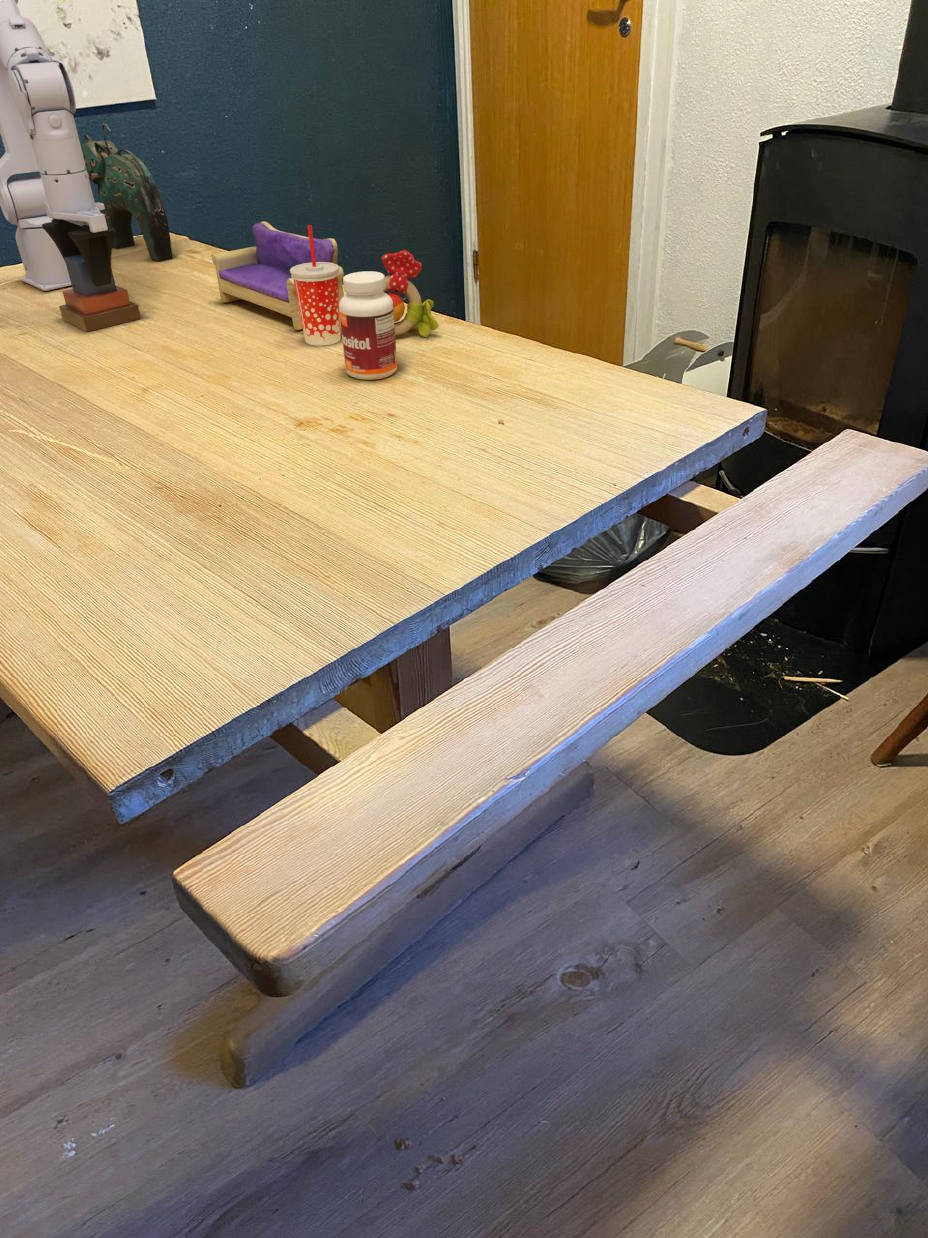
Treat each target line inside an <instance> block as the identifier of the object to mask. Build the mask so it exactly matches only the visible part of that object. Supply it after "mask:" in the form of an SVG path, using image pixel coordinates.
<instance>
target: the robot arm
mask: <svg viewBox="0 0 928 1238" xmlns="http://www.w3.org/2000/svg"><path fill="white" fill-rule="evenodd" d="M18 4H19V0H0V137H1V141H2V145H3V146H4V150H5V152H4V154H3V155H2V156H1V157H0V209H1V211H2V214H3V216H4V218H5V220H6V221H7V222H9V223H10V224H11V225H15V226H17V228H16V231H15V241H16V246H17V249H18V252H19V256H20V259H21V262H22V265H23V269H24V272H25V275H26V276H22V277H20V280H21V281H22V282H24V283H26V284H28V285H31V286H33V287H35V288H37V289H39V290H41V291H43V292H48V291H52V290H55V289H61V288H65V287H71V286H72V284H71V281H70V277H69V273H68V270H67V266H66V262H65V259H64V258H65V257H70V256H75V255H80V254H82V257H83V259H84V261H85V263H86V266H87V269H88V271H89V274H90V277H91V279H92V281H93V283H94V284H95V286H102V285H107V284H111V269H112V252H113V247H112V246H113V242H114V239H115V236H116V231H115V229H114V228H111V227H108V228H107V224H106V220H105V215H104V214H102V213H101V210H104V209H105V207H104V204H103V203H100V202H99V201H98V202H95V198H94V194H93V190H92V186H91V182H90V181H91V180H89V177H88V173H87V169H86V165H85V161H84V157H83V153H82V145H81V142H80V137H79V132H78V128H77V125H76V121H75V117H74V114H75V113H76V112H77V111H76V110H77V103H76V96H75V91H74V87H73V83H72V81H71V77H70V75H69V72H68V70H67V68H66V66H65V64H64V62H63V60H61V59H58V58H57V56H55V55H54V56H52V55H51V53H50V51H49V49H48V48H47V46H46V44H45V41H44V40H43V37H42V36H41V34H40V32H39V30H38V28H37V26H36V25H35V23H33V21H31V20H30V19H29V18H27V17H26V16H23V15H22V14H21V12H20V9H19V7H18ZM37 172H39V174H32V175H27V176H18V177H11V176H15V175H21V174H27V173H28V174H29V173H30V174H31V173H37Z"/></svg>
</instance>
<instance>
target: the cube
mask: <svg viewBox="0 0 928 1238" xmlns="http://www.w3.org/2000/svg"><path fill="white" fill-rule="evenodd" d="M64 259H65V262H66V266H67V270H68V273H69V277H70V281H71V284H72V285H71V289H73V291H75V292H78V293H80V294H82V295H84V296H92V295H96V294H100V293H105V292H109V291H113V290H117V289H116V286H117V285H116V282H115V281H116V280H115V278H114V273H113V269H112V268H111V284H107V285H102V286H95V284H94V283H93V281H92V279H91V277H90V274H89V271H88V269H87V266H86V263H85V261H84V259H83V257H82V254H80V255H75V256H70V257H65V258H64Z"/></svg>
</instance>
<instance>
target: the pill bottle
mask: <svg viewBox="0 0 928 1238" xmlns="http://www.w3.org/2000/svg"><path fill="white" fill-rule="evenodd" d="M385 277H386V276H385V274H384V273H382V272H381V271H380V272H379V271H372V270H371V271H370V270H369V271H368V270H367V271H357V272H352V273H348V274H346V275H344V277H343V278H342V283H343V292H345V293H346V294H344V297H343V298H342V299H341V300H340V303H339V310H340V331H341V339H342V348H343V357H344V366H345V367H344V369H345V372H346V374H347V375H349V377H351V378H354V379H357V380H364V381H365V380H368V381H369V380H370V381H371V380H373V381H374V380H380V379H381V380H382V379H385V378H388V377H390V376H391V375H393V374H395V372H396V371H397V369H398V357H397V342H396V335H395V325H394V323H395V322H394V310H393V301H392V299H391V297H390V296H389V295H388V294H386V293H387V292H383V290H384V289H385V286H386V284H385Z"/></svg>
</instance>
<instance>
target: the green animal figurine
mask: <svg viewBox="0 0 928 1238" xmlns="http://www.w3.org/2000/svg"><path fill="white" fill-rule="evenodd" d="M105 128H106V130H107V131H108V132H109V133H110V134H113V131H112V129H111V128H110V126H109V125H108V123H106V122H102V125H101V131H102V134H103V135H102V136H103V140H99V141H98V140H97V141H96V140H94V139H92V138H91V137H90V136H88V134H86V133H83V137H84V143H83V144H82V145H81V149H82V153H83V157H84V161H85V165H86V169H87V173H88V177H89V181H91V182H92V183H93V184H95V185H97V194H98V202H99V203H103V204H104V207H105V209H104V210H100V213H102V214H104V215H105V220H106V224H107V228H108V227H111V228H114V229H115V231H116V236H115V239H114V242H113V246H112V248H113V249H124V248H128V247H129V248H130V247H133V246H135V238H134V234H133V229H132V220H133V217H134V219H135V221H136V222H137V224H138V226H139V229H140V232H141V234H142V237H143V240H144V243H145V246H146V249H147V252H148V254H149V256H150V259H151V260H152V261H154V262H163V261H166V260H170V259H171V260H172V259H173V250H172V240H171V233H170V227H169V221H168V215H167V213H166V210H165V207H164V204H163V200H162V197H161V194H160V191H159V188H158V185H157V183H156V182H155V179H154V177H153V175H152V173H151V171H150V170H149V169H148V167H147V166H146V165H145V163H144V162H143V161H142V160H141V159H140V158H138V157H137V156H136V155H135V154H134V153H133V152H131V150H128V149H127V148H121V149H119V150H118V148H117V146H116V145H115V144H114V143H113V142H112V141H110V140H107V137H106V135H105ZM121 152H125V153H126V154H125V153H124V154H121Z"/></svg>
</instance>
